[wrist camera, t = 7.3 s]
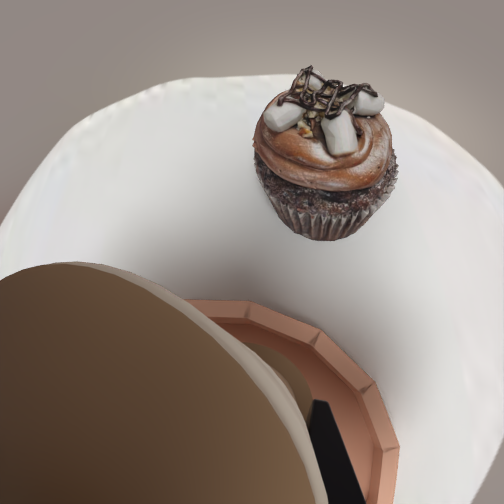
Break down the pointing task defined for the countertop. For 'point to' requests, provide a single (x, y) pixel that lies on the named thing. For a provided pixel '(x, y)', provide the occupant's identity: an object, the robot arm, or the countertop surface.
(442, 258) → the countertop surface
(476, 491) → the countertop surface
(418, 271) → the countertop surface
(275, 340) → the tray
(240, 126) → the countertop surface
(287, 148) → the cupcake
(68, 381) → the tan flared cylinder
